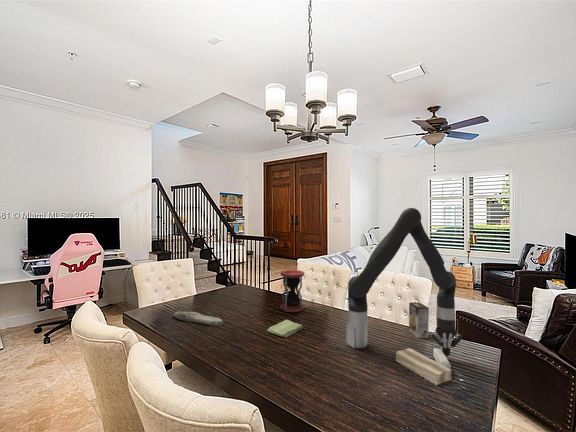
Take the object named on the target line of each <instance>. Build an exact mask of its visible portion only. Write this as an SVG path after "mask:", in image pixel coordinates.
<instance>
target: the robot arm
mask: <svg viewBox="0 0 576 432" xmlns="http://www.w3.org/2000/svg"><path fill="white" fill-rule="evenodd" d="M409 234H410V235H411V237H412V239H413V240H414V242H415V244H416V245H417V248H418V251H420V254H421V256H422V258H423V259H424V261H425V262H426V265H427V267H428V268H429V271H430V275H431V278H432V280H433V282H434V283H435V285H436V286H437V287H438V293H437V294H436V295H437V296H436V309H435V310H436V313H435V315H436V328H435V331H433V332H430V335H431V337H432V339H434V340H435V342H436V343H437V344H438V346H440V347H441V350H442V352H443V353H444V355H445V357H449V356H450V355H451V348H455V347H456V346H457V345H458V344H459V343H460V342H461V341H462V339H463V337H462V335H461V334H459V333H458V331H457V326H456V325H457V324H456V320H457V319H456V318H457V317H456V306H455V305H456V304H455V303H456V302H455V295H456V294H455V293H456V288H457V287H456V286H457V279H456V276H455V274H454V273H452V272H450V271H447V269H446V267H445V261H444V258H443V256H442V255H441V253H440V251H439V250H438V248H437V247H436V246H435V244H434V242H432V240H431V238H430V237H429V236H428V234H427V233H426V231H425V228H424V226H423V224H422V215H421V212H420V211H419V210H418V209H417V208H414V207H408V208H405V209H404V210H403V211H402V212H401V214H400V216H399V218H397V220H396V222H395V224H394V225H393V227H392V228H391V229H390V231H389V232H388V233H387V234H386V235H385V236H384V237H383V239H382V240H380V242H379V243H378V245H377V246H376V247H375V248H374V250H373V251H372V253H371V254H370V257H369V259H368V261H367V263H366V265H365V267H364V269H363V270H362V271H361V272H360V273H359V275H355V276H351V278H350V279H349V281H348V282H347V283H348V284H347V285H348V286H347V307H348V312H347V315H348V318H347V320H348V321H347V324H346V340H345V342H346V344H347V345H349V346H350V347H352V348H353V349H364V348H367V346H368V298H367V297H368V296H367V295H368V293H369V292H370V290H371V289H372V286H373V285H374V284H375V282H376V280H377V278H379V276H380V275H381V274H382V273H383V272H384V270H385V269H386V268H387V266H388V265H389V264H390V263H391V262H392V260H393V259H394V257H396V255H397V254H398V252H399V251H400V249H401V246H402V244H403V242H404V241H405V239H406V238H407V236H408V235H409ZM438 336H439V337H440V339H441V341H440V340H439V338H438Z"/></svg>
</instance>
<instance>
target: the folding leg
mask: <svg viewBox="0 0 576 432" xmlns="http://www.w3.org/2000/svg"><path fill="white" fill-rule="evenodd" d="M431 355H432V357H434V361H435V362H437V363H439V364H441V365H443V366H445V367H447V368H449V369H451V367H452V366H451V365H452V364H451V363H450V362H449V360H448V358H447V356H445V355H444V353H443V352H442V346H440V345H432V344H431ZM451 370H452V369H451Z"/></svg>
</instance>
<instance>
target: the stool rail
mask: <svg viewBox="0 0 576 432" xmlns="http://www.w3.org/2000/svg"><path fill="white" fill-rule="evenodd" d="M395 362H397V363H399V364H400V365H402V366H404V367H405V368H407V369H409V370H410V371H412V372H413V373H415V374H417V375H418V374H419V375H418V376H419V377H422V378H423V377H424V380H427V381H428V380H429V381H428V382H430V383H432V384H433V383H434V384H433V385H435V386H439V385H441V383H442V384H444V383H443V382H445V383H447V382H450V381H451V380H452V369H449V368H447V367H445V366H443V365H441V364H439V363H437V362H436V360H433V359H431V358H429V357H427V356H426V355H424V354H422V353H420V352H418V351H416V350H415V349H413V348H405V349H401V350H398V351H396V352H395ZM449 380H450V381H449ZM446 381H447V382H446ZM438 384H439V385H438Z"/></svg>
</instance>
